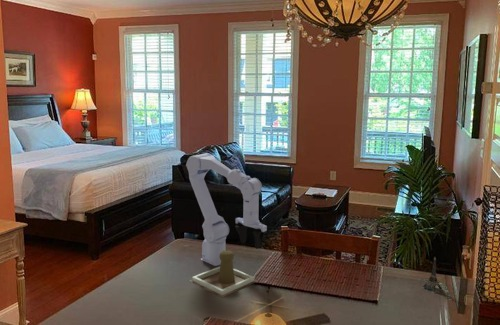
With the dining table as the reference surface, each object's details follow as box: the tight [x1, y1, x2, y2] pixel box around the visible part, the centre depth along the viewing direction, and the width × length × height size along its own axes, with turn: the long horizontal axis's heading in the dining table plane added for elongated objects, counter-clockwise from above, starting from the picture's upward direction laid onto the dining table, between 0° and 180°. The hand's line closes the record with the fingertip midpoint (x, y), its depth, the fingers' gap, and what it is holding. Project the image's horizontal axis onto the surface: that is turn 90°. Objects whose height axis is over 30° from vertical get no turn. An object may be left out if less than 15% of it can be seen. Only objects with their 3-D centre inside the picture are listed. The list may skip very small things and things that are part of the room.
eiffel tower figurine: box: [417, 257, 453, 301], centre depth 165 cm, size 15×10×13 cm
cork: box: [218, 249, 235, 284], centre depth 169 cm, size 6×6×11 cm
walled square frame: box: [191, 266, 256, 295], centre depth 169 cm, size 16×16×2 cm
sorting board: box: [188, 272, 259, 298], centre depth 169 cm, size 18×18×1 cm
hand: (250, 245), depth 177 cm, fingers open, 7 cm apart
